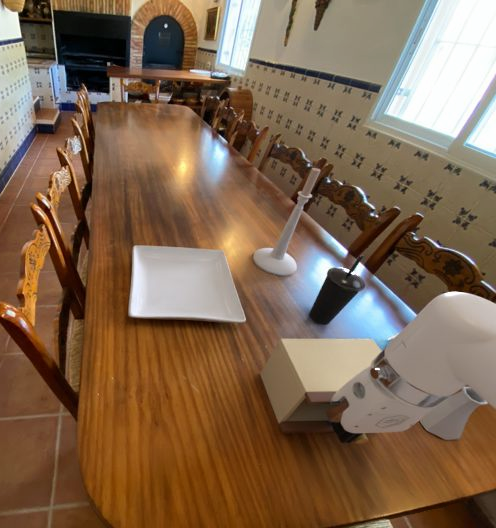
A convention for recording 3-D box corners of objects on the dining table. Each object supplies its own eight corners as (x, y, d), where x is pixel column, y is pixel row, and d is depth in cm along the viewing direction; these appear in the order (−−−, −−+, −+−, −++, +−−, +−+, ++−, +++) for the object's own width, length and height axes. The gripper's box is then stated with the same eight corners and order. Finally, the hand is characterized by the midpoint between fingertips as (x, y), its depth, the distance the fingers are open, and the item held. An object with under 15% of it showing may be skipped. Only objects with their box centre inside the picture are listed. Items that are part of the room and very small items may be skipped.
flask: (422, 434, 54) (463, 410, 48) (405, 397, 60) (440, 370, 53) (466, 446, 53) (515, 422, 47) (445, 407, 59) (486, 381, 52)
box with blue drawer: (376, 431, 54) (419, 400, 46) (282, 433, 53) (311, 402, 45) (341, 372, 63) (372, 338, 55) (259, 373, 62) (280, 338, 54)
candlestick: (289, 252, 96) (333, 160, 77) (301, 278, 86) (355, 181, 67) (249, 247, 97) (283, 155, 77) (257, 273, 87) (298, 175, 68)
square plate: (132, 254, 90) (132, 243, 87) (221, 259, 91) (224, 249, 88) (127, 325, 69) (127, 314, 66) (243, 331, 70) (248, 320, 67)
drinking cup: (311, 329, 72) (354, 267, 59) (298, 306, 77) (334, 244, 65) (341, 330, 72) (390, 268, 59) (326, 306, 78) (367, 245, 65)
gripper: (374, 405, 35) (308, 460, 46) (489, 403, 36) (397, 457, 47) (338, 350, 40) (288, 411, 52) (439, 349, 42) (367, 409, 53)
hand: (340, 432), depth 50 cm, fingers closed
